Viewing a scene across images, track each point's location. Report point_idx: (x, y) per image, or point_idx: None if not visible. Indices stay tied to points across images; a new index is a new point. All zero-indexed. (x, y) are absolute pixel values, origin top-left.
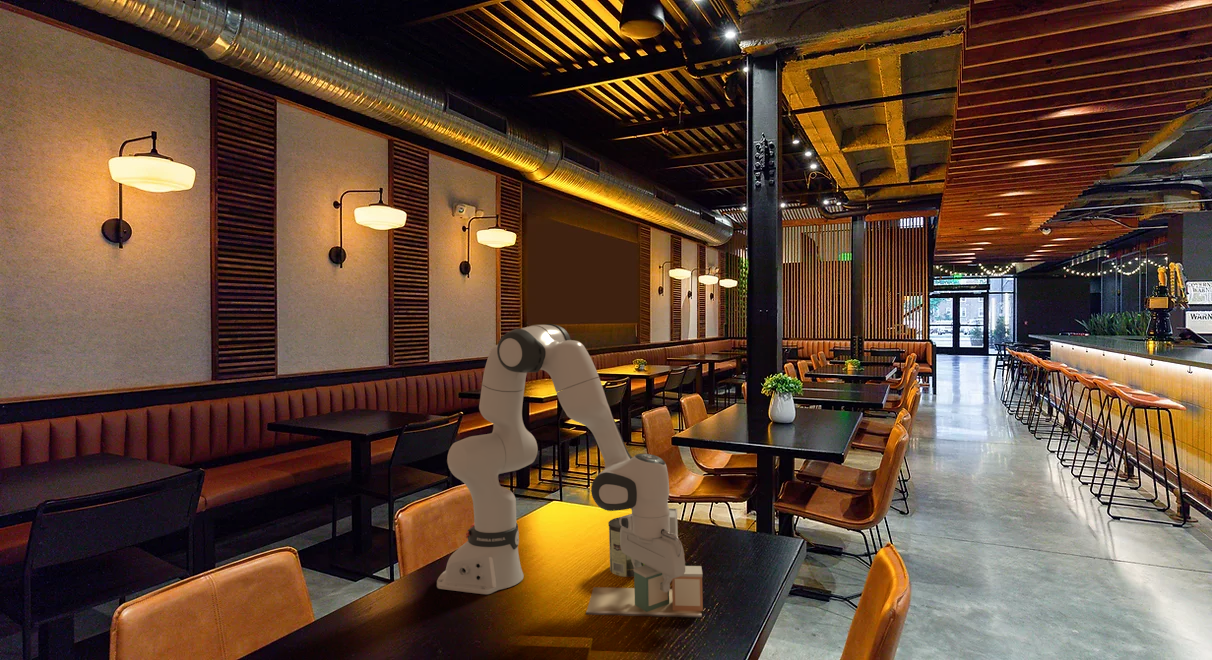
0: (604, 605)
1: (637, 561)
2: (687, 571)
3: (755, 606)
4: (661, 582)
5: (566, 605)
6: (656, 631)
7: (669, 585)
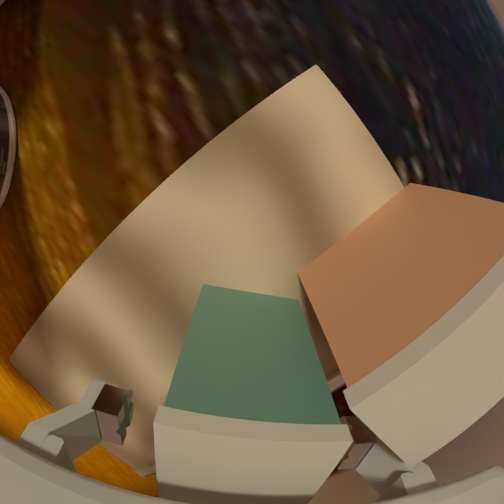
0: (128, 435)
1: (71, 463)
2: (500, 374)
3: (494, 58)
4: (341, 463)
5: None
6: (341, 411)
7: None
